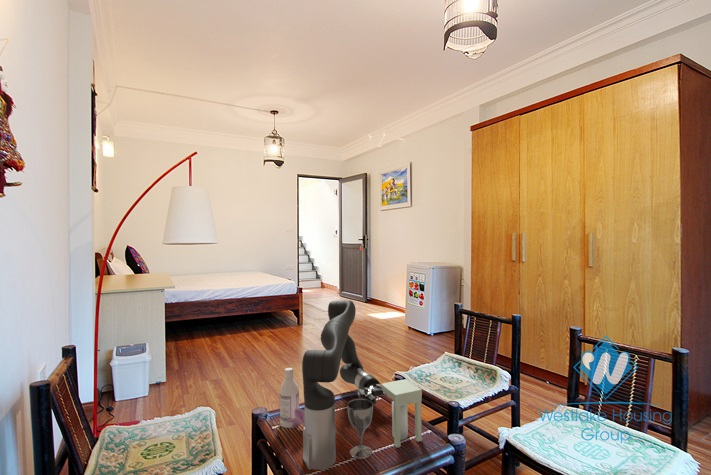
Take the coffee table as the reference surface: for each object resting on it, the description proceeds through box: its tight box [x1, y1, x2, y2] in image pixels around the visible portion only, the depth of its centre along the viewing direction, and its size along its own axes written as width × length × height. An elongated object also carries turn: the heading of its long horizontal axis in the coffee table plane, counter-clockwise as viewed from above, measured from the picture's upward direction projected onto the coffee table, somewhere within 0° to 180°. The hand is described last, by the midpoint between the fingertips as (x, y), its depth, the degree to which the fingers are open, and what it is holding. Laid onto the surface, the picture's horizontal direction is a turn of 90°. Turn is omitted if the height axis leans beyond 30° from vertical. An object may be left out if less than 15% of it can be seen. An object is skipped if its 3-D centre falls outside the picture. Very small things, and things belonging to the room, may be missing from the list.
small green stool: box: [380, 378, 423, 448], centre depth 122 cm, size 10×10×17 cm
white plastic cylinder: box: [391, 401, 409, 441], centre depth 123 cm, size 5×5×11 cm
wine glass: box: [347, 398, 374, 460], centre depth 114 cm, size 8×8×15 cm
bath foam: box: [279, 367, 300, 429], centre depth 132 cm, size 7×7×20 cm
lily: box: [286, 408, 305, 429], centre depth 126 cm, size 12×12×10 cm
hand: (385, 399), depth 133 cm, fingers open, 8 cm apart
